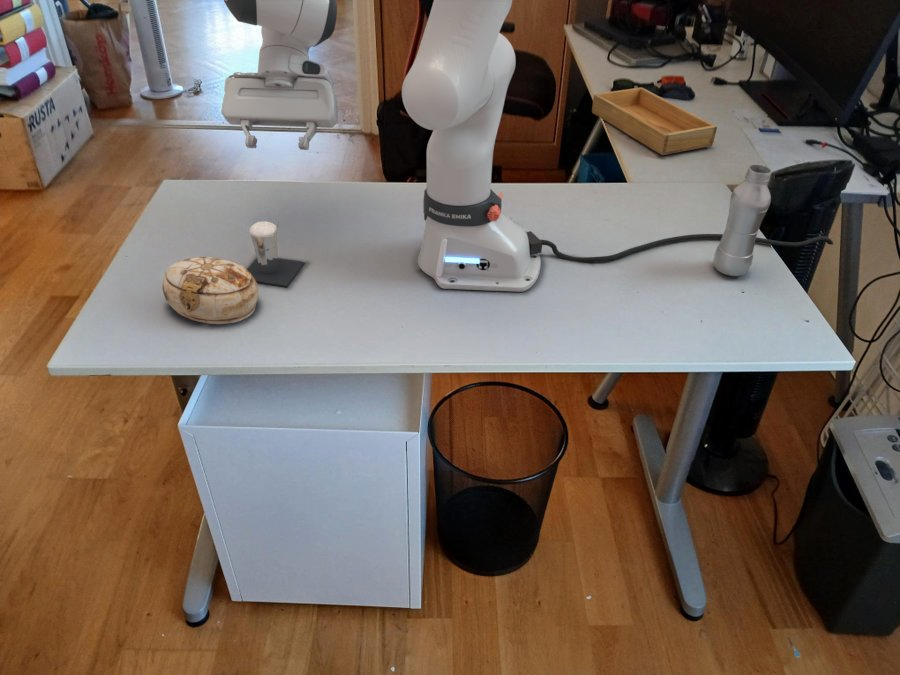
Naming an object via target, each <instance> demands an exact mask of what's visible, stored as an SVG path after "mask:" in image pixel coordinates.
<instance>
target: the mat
mask: <svg viewBox="0 0 900 675" xmlns="http://www.w3.org/2000/svg"><path fill="white" fill-rule="evenodd" d="M278 263H279V269H278V271H277V272H275V273H272V274H264V273H262V272H261V271H260V268H259V264H258V260H257V257H256V258H255V259H254V260H253V262H251V264H250V265H249V266H248V267H247V268H246V269H247V270H248V271H249V272H250V273H251V274H252V276H253V277H254V278H255V280H256V282H257V284H261V285H268V286H273V287H282V288H288V287H289V286H290V284H291V283H292V281H294V279H295V278H296V276H297V275H298V273H299V272H300V271H301V270H302V268H303V267H304V265H305V264H306V262H305V261H300V260H293V259H287V258H280V257H278Z"/></svg>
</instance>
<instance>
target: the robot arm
mask: <svg viewBox="0 0 900 675" xmlns="http://www.w3.org/2000/svg"><path fill="white" fill-rule="evenodd" d="M223 2H224V4H225V6H226V7H227V9H228V11H229V12H230V13H231V15H232V16H233V17H234V19H235V20H236V21H237V22H239V23H243V24H247V25H251V26H259V27H261V29H260V30H261V38H262V43H261V47H260V48H259V52H258V64H257V72H241V71H237V72H236V71H235V72H233V74H231V75H229V76H227V77H226V78H225V81H224V94H223V99H222V104H221V115H222V117H223V118H224V119H225V121H226V122H227V123H228V124H230V125H232V126H233V125H236V126H240V127H241V129H242V131H243V133H244V135H245V144H244V145H245V147H246V148H247V149H257V146H258V145H257V143H258V139H257V137H256V136H255V135H251V133H250V131H252V130H253V126H264V127H265V126H266V127H294V128H295V127H296V128H297V127H298V128H299V127H300V128H306V129H307V131H306V132H305V133H304V135H303V136H299V137H298V144H297V145H298V148H299V150H300V151H302V150H303V151H309V150H310V142H311V141H312V140H313V138H314V137H315V135H316V134H317V130H318V128H326V129H328V128H330V129H331V128H334V127H335V126H336V124H337V123H338V119H339V118H338V115H339V114H338V113H339V112H338V111H339V110H338V101H337V100H338V99H337V97H336V94H335V91H334V79H333V76H332V74H331V72H330V70H329V68H328V67H327V66H326V65H325V64H323V63H320V62H317V61H314V60H311V59H310V56H309V51H310V48H311V47H313V48H315V47H317V46H319V45H320V44H323V43H324V42H326V40H328V39H330V38H331V37H332V35H333V34H334V32H335V29H336V23H337V14H338V2H337V0H223ZM512 4H513V0H433V2H432V6H431V9H430V13H429V16H428V19H427V22H426V26H425V28H424V32H423V34H422V37H421V41H420V44H419V47H418V50H417V53H416V56H415V59H414V60H413V63H412V65H411V67H410V69H409V71H408V72H407V74H406V76H405V77H404V80H403V83H402V85H401V98H402V103H403V106H404V108H405V110H406V112H407V113H406V114H408V116H409V117H410V118H411V119H412V120H413V122H414V123H416V125H418V126H420V127H422V128H424V129H426V130H430V131H432V133H431V135H430V137H429V140H428V143H427V146H426V188H425V189H424V190H423V199H422V210H423V211H422V212H423V220H424V230H423V238H422V243H421V247H420V250H419V253H418V256H417V264H418V266H419V269H420V270H421V271H422V272H423V273H425V274H426V275H428V276H429V277H430V278H432V279H433V280H434V281H435V283H436V285H437V286H438V287H439V288H441V289H444V290H466V291H467V290H468V291H492V292H493V291H494V292H495V291H496V292H517V293H518V292H519V293H520V292H522V293H523V292H525V291H527V290H529V289H531V288H532V287H533V286H534V285H535V283H536V282H537V281H538V278H539V276H540V272H541V268H542V266H541V262H542V261H541V256H540V254H541V253H542V251H543V246H547V247H549V248H551V251H552V252H553V254H554V255H555V256H556V257H558V258H559V259H562V260H566V261H571V262H575V263H598V262H609V261H614V260H617V259H620V258H623V257H626V256H628V255H631V254H633V253H636V252H641V251H645V250H647V249H650V248H654V247H657V246H661V245H666V244H669V243H675V242H682V241H690V240H691V241H692V240H707V239H708V240H710V239H711V240H721V239H722V236H723V234H724V233H697V234H695V233H694V234H686V235H678V236H673V237H667V238H663V239H658V240H654V241H651V242H648V243H644V244H640V245H638V246H634V247H631V248H628V249H625V250H623V251H620V252H618V253H615V254H611V255H602V256H586V257H579V256H578V257H577V256H572V255H568V254H565V253H563V252H561V251H559V249H558V246H557V245H556V244H555V243H554V242H553V241H550V240H547V239H542V238H541V239H540V238H539V237H538V236H536V234H534V232H532V231H526V229H525V228H524V227H523V226H522V225H520V224H519V223H517V222H516V221H515V220H513V218H511V217H510V216H509V215H507V214H506V213H504V212H503V211H502V207H503V206H502V199H503V192H502V191H500V192H499V194H498V195H497V194H496V192H495V191H493V190H492V173H493V160H494V151H495V150H494V149H495V144H496V139H497V135H498V129H499V126H500V123H501V118H502V115H503V111H504V110H503V109H504V106H505V101H506V96H507V92H508V89H509V85H510V83H511V80H512V78H513V75H514V73H515V69H516V61H517V60H516V53H515V50H514V47H513V45H512V44H511V42H510V41H509V39H508V38H507V37H506V36H504V35H503V34H502V33H500V32H501V30H502V27H503V24H504V22H505V20H506V18H507V16H508V15H509V12H510V11H511V8H512ZM818 242H825V243H826V244H827V245H830V246H831V245H832V246H833V245H834V241H833V240H832V239H831V238H830V237H828V236H826V235H818V236H815V237H812V238H809V239H806V240H802V241H797V242H793V241H791V242H790V241H781V240H773V239H768V238H762V237H757V236H756V240H755V243H758V244H765V245H769V246H775V247H782V248H801V247H805V246H809V245H811V244H814V243H818Z"/></svg>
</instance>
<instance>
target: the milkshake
mask: <svg viewBox="0 0 900 675" xmlns="http://www.w3.org/2000/svg"><path fill="white" fill-rule="evenodd" d="M279 223H280V221H277V224H276V225H275V224H274V223H272V222H270V221H266V220H265V221H264V220H263V221H261V220H260V221H257V222H254V223H253V225H252V226H251V227H250V228H249V234H250V238H251V242H252V244H253V248H254V252H255V256H256V258H257V260H258V264H259V268H260V271H261V272H262V273H264V274H272V273H275V272H277V271H278V269H279V263H278V258H279V252H278V227H279Z"/></svg>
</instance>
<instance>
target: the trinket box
mask: <svg viewBox="0 0 900 675" xmlns="http://www.w3.org/2000/svg"><path fill="white" fill-rule="evenodd" d="M161 286H162V292H163V296H164V299H165V300H166V302H167V303H168V304H169V306H170V307H171V308H172V310H174V311H175V312H176V313H177V314H179V315H180V316H182V317H185V318H187V319H189V320H191V321H196V322H199V323H204V324H210V325H226V324H235V323H238V322H241V321H242V320H246V319H247V318H249V317H250V316H252V315H253V313H254V312H255V310H256V305H257V302H258V301H259V294H260V293H259V292H260V291H259V285H258V283H257V282H256V280H255V278H254V277H253V276H252V274H251V273H250V272H249V271H248V270H247V268H246V267H245V266H243V265H241V264H239V263H237V262H234V261H232V260H228V259H225V258H219V257H215V256H196V257H190V258H185V259H182V260H179V261H176V262H174V263H172V264H171V265H170V266H168V268H167V269H166V270H165V273H164V275H163V277H162V283H161Z"/></svg>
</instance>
